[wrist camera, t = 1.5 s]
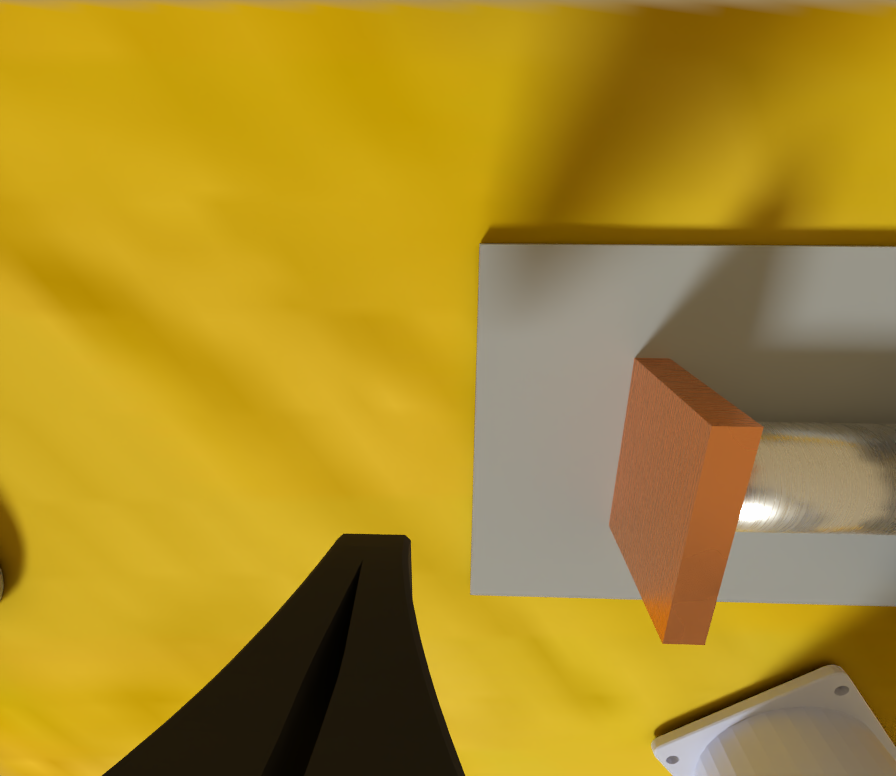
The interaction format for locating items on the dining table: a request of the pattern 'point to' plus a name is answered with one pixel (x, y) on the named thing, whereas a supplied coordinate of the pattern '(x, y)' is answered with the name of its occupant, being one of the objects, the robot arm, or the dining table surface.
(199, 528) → the dining table surface
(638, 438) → the pin
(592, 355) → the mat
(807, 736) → the robot arm
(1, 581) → the ceramic mug
